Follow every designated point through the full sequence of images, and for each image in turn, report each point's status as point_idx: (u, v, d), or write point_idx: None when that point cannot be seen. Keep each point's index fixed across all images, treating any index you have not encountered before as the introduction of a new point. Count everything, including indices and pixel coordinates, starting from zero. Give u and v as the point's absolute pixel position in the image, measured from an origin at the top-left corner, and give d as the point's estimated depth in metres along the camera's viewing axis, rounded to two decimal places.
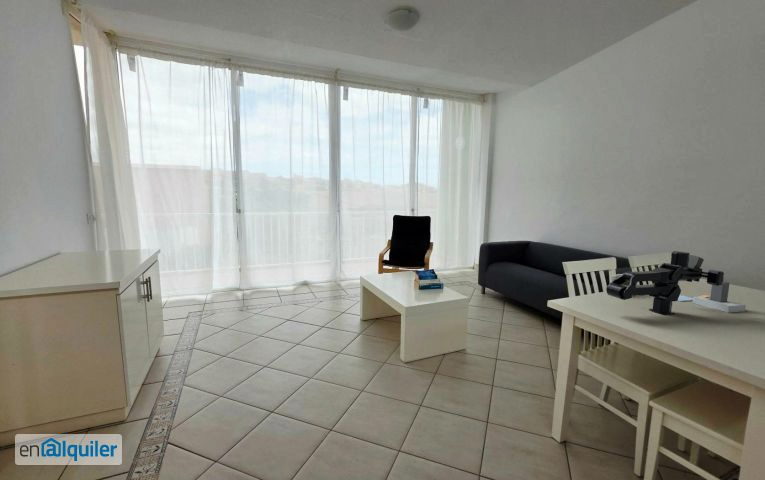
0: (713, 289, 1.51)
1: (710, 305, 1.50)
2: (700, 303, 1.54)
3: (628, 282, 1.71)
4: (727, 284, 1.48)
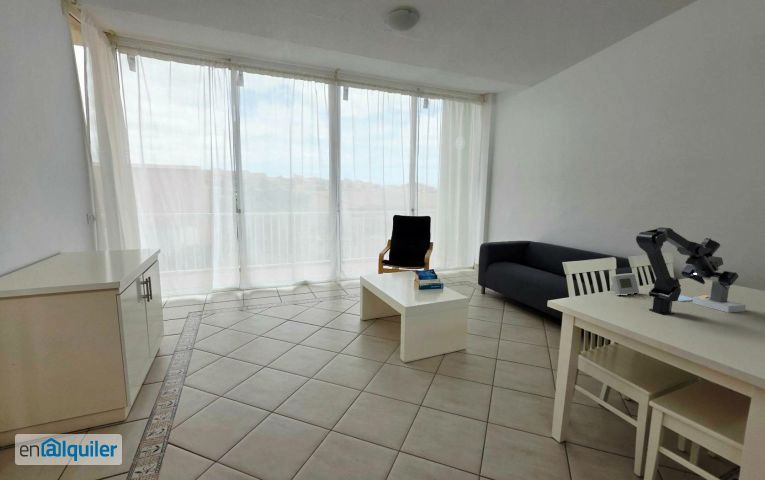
0: (713, 289, 1.51)
1: (710, 305, 1.50)
2: (700, 303, 1.54)
3: (628, 282, 1.70)
4: None
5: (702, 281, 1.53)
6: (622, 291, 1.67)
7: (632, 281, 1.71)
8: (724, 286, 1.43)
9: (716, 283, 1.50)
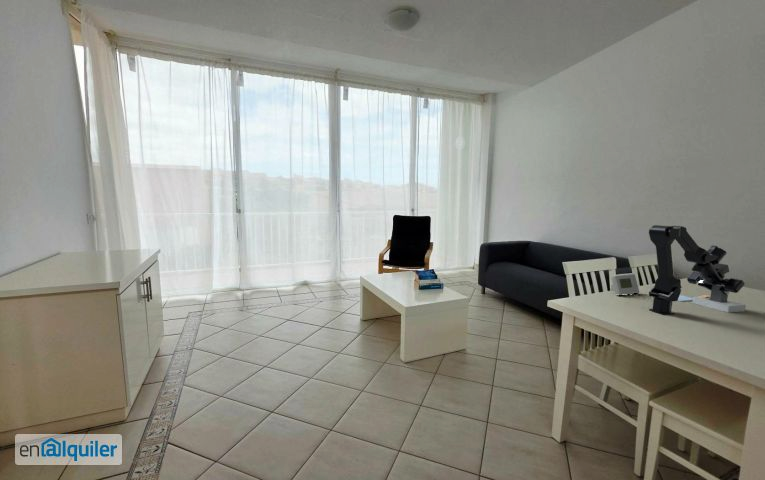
0: (713, 289, 1.51)
1: (710, 305, 1.50)
2: (700, 303, 1.54)
3: (628, 282, 1.70)
4: None
5: None
6: (622, 291, 1.67)
7: (632, 281, 1.71)
8: (723, 292, 1.46)
9: None
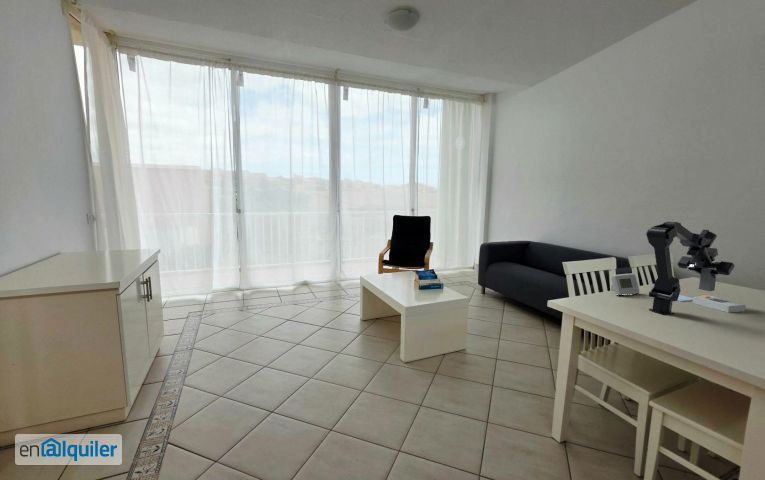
0: (702, 273, 1.54)
1: (710, 305, 1.50)
2: (700, 303, 1.54)
3: (628, 282, 1.70)
4: None
5: None
6: (622, 291, 1.67)
7: (632, 281, 1.71)
8: (713, 275, 1.50)
9: None
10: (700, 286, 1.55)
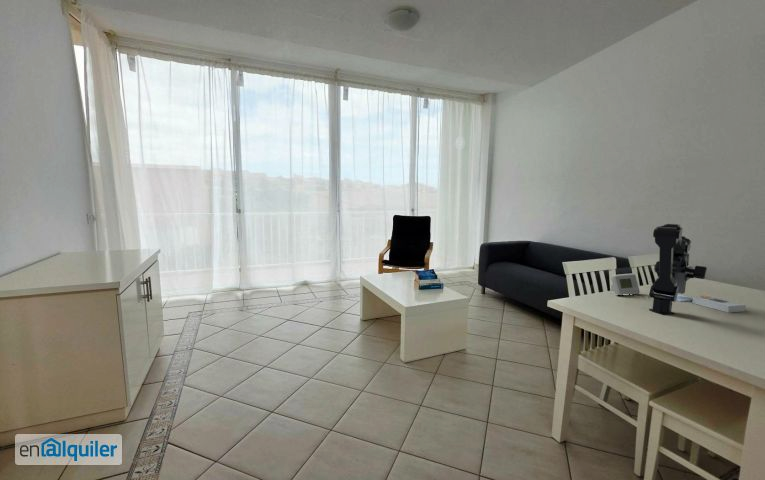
0: (676, 276, 1.63)
1: (710, 305, 1.50)
2: (700, 303, 1.54)
3: (628, 282, 1.70)
4: None
5: None
6: (622, 291, 1.67)
7: (632, 281, 1.71)
8: (688, 278, 1.58)
9: None
10: None
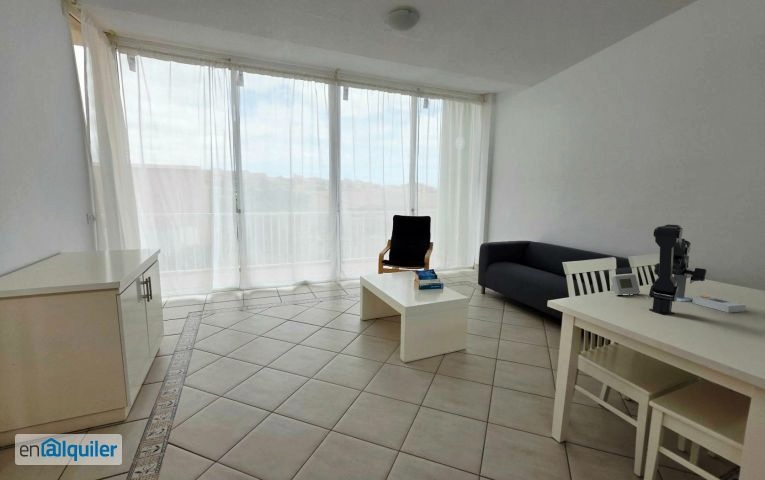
0: None
1: (710, 305, 1.50)
2: (700, 303, 1.54)
3: (629, 282, 1.70)
4: (686, 275, 1.62)
5: None
6: (622, 291, 1.67)
7: (633, 281, 1.71)
8: (692, 281, 1.57)
9: (678, 275, 1.62)
10: None
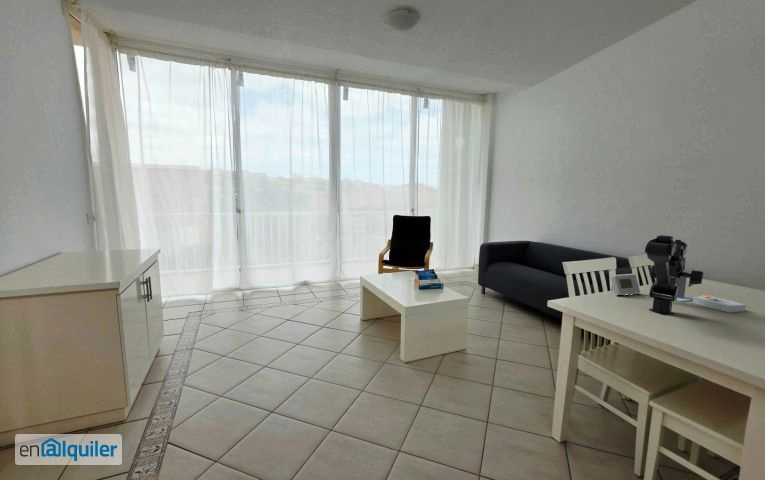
0: None
1: (710, 305, 1.50)
2: (700, 303, 1.54)
3: (629, 282, 1.70)
4: None
5: None
6: (622, 291, 1.67)
7: (633, 281, 1.70)
8: (691, 284, 1.51)
9: None
10: None
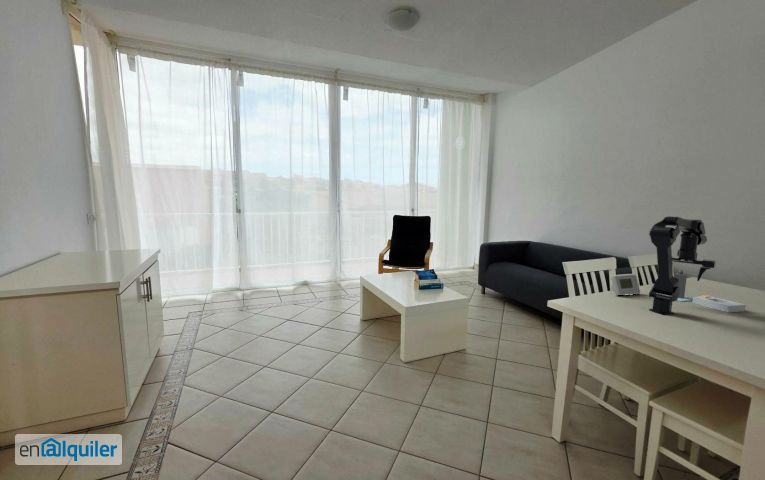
0: None
1: (710, 305, 1.50)
2: (700, 303, 1.54)
3: (629, 283, 1.69)
4: (686, 275, 1.62)
5: None
6: (622, 291, 1.67)
7: (633, 282, 1.70)
8: (701, 272, 1.44)
9: (678, 275, 1.62)
10: None
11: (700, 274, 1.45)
